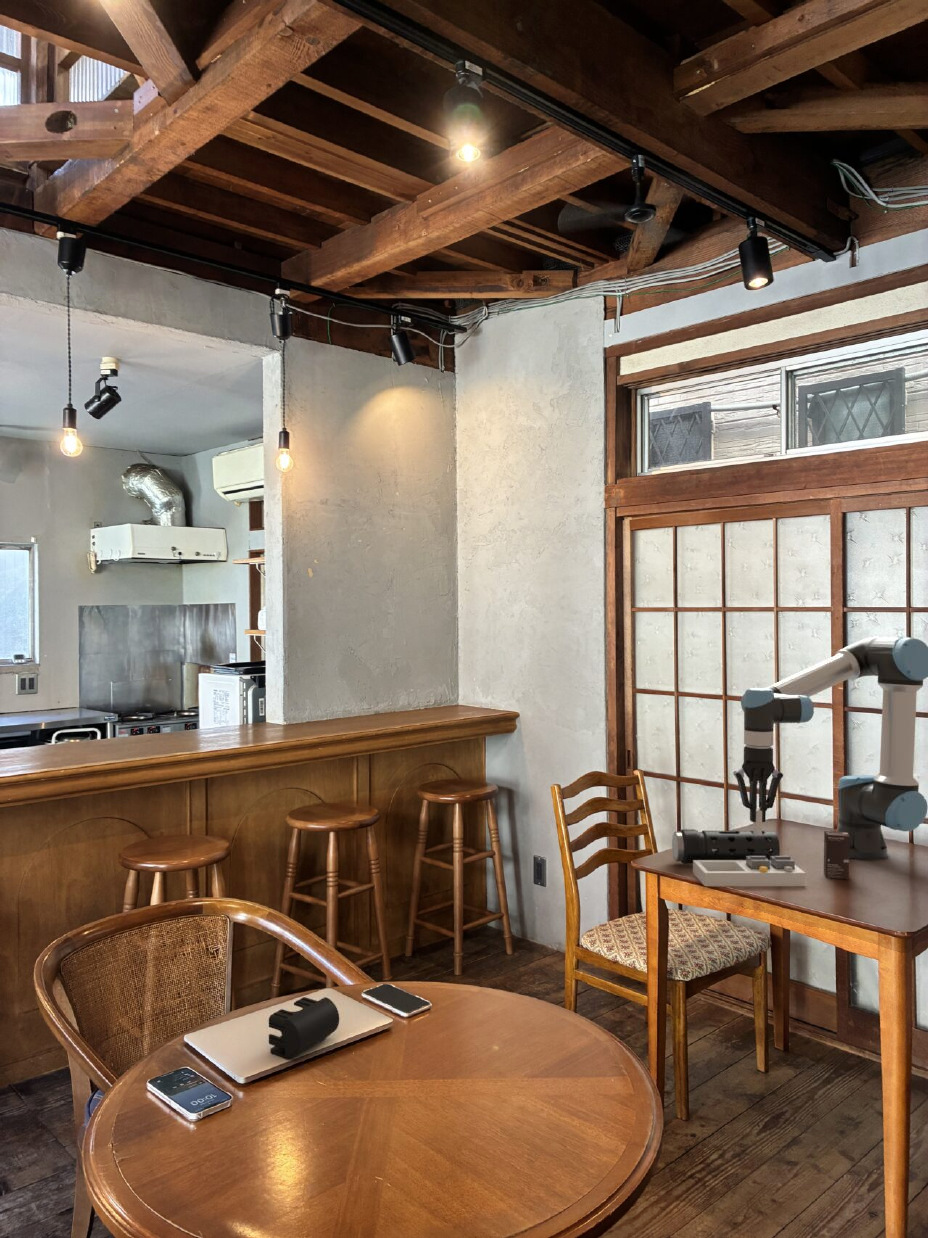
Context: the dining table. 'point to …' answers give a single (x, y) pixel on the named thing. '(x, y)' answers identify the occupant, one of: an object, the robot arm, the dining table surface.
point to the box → (836, 854)
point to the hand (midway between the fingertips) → (757, 834)
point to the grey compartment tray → (745, 874)
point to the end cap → (302, 1026)
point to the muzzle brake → (722, 845)
